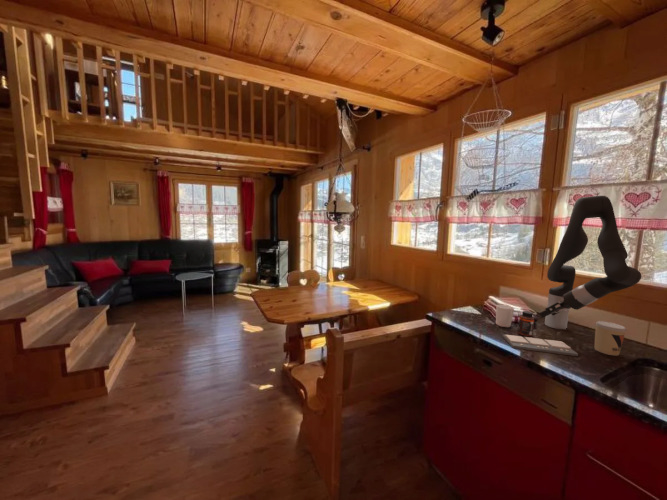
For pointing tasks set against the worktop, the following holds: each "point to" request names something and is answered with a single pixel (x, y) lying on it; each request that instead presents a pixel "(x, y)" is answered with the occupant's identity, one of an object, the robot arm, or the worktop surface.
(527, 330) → the supplement bottle
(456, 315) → the worktop surface
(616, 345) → the coffee cup
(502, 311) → the white cup
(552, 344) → the tile board
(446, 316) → the worktop surface
